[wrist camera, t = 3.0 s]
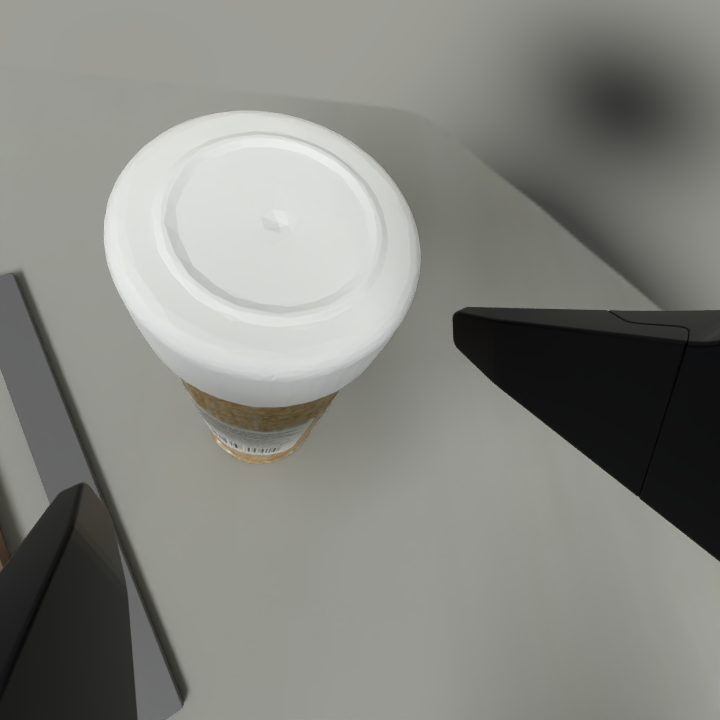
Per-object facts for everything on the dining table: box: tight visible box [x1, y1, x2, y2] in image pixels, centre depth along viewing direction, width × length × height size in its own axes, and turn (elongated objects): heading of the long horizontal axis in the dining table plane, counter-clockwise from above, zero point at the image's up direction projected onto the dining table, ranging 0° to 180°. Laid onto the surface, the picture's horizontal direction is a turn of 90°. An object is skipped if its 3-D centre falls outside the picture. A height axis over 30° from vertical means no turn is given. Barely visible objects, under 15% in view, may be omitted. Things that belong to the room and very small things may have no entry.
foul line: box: [0, 273, 184, 720], centre depth 15 cm, size 18×2×1 cm, turn 30°
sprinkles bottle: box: [104, 110, 421, 464], centre depth 12 cm, size 5×5×14 cm
